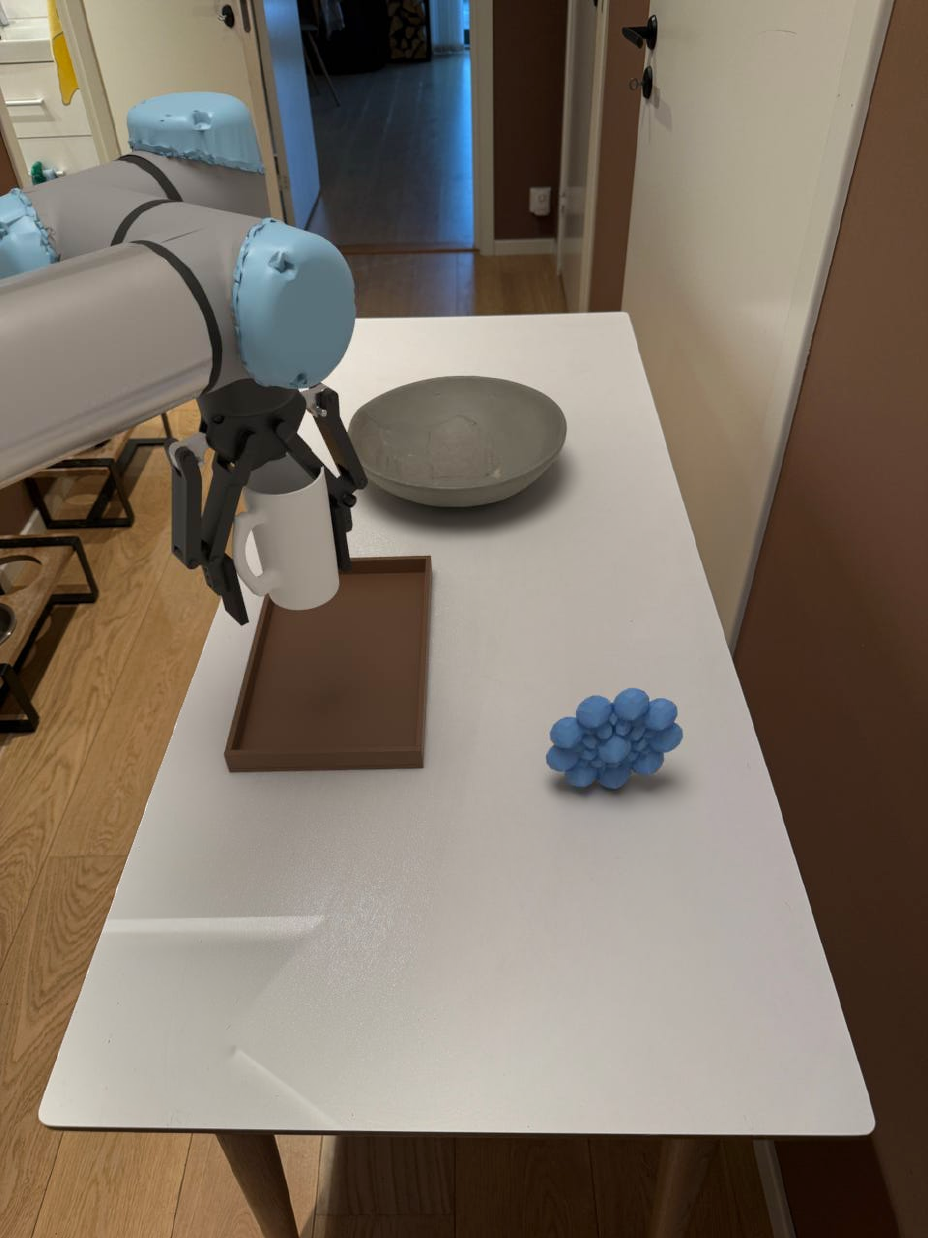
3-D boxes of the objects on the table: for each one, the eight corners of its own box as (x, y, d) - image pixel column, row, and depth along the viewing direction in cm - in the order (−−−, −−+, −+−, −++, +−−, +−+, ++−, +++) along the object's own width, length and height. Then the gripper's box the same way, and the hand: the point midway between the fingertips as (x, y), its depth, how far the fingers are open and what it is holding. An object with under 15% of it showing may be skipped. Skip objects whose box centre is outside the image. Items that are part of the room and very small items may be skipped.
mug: (301, 555, 85) (279, 441, 77) (358, 579, 82) (341, 463, 74) (223, 617, 79) (190, 500, 71) (281, 645, 76) (254, 526, 68)
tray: (423, 768, 86) (421, 750, 84) (228, 772, 86) (223, 754, 85) (432, 572, 108) (431, 555, 106) (277, 576, 108) (273, 559, 106)
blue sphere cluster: (666, 746, 87) (681, 653, 79) (678, 805, 82) (696, 711, 74) (542, 749, 87) (544, 656, 79) (546, 807, 82) (550, 715, 74)
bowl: (406, 415, 136) (401, 362, 130) (589, 447, 127) (593, 392, 122) (314, 516, 117) (304, 459, 112) (521, 562, 108) (522, 503, 103)
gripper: (338, 285, 72) (369, 519, 87) (64, 379, 62) (151, 626, 77) (396, 313, 68) (418, 554, 83) (112, 419, 58) (194, 673, 72)
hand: (289, 589), depth 80 cm, fingers closed on mug, 10 cm apart
